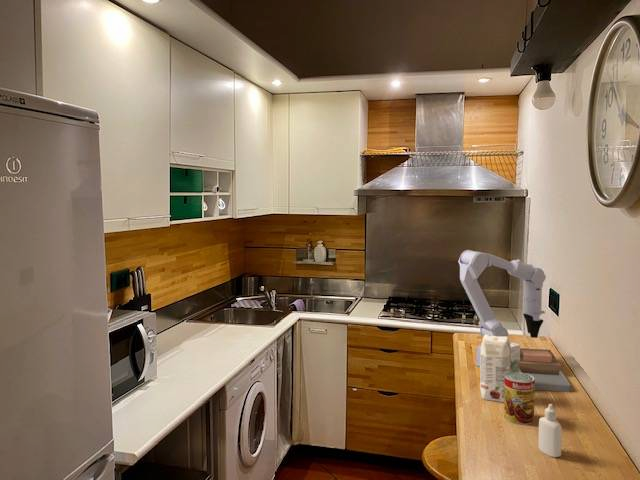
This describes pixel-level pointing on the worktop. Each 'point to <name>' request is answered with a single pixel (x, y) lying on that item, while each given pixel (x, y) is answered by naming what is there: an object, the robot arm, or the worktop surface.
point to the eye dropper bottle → (550, 433)
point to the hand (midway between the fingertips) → (532, 335)
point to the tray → (551, 382)
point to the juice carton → (494, 366)
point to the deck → (540, 365)
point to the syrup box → (515, 357)
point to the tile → (536, 356)
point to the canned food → (519, 398)
